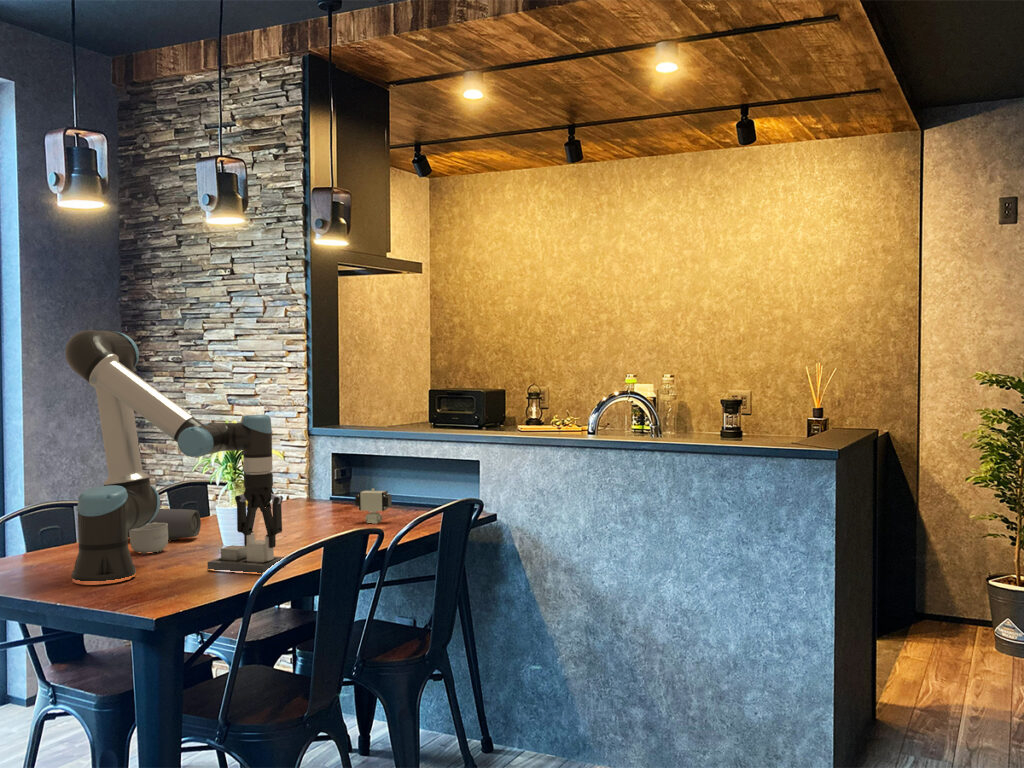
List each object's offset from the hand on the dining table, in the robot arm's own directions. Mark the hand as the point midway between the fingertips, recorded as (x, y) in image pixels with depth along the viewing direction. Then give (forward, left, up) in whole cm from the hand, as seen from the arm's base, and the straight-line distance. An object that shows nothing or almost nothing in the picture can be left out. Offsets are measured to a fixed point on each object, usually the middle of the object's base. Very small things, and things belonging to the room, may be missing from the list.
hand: (260, 559), depth 247 cm
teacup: (+12, +46, -3) cm, 47 cm away
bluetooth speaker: (+27, +55, -3) cm, 61 cm away
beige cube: (0, 0, 0) cm, 0 cm away
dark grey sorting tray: (0, +4, -3) cm, 5 cm away
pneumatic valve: (+73, +4, -3) cm, 73 cm away
